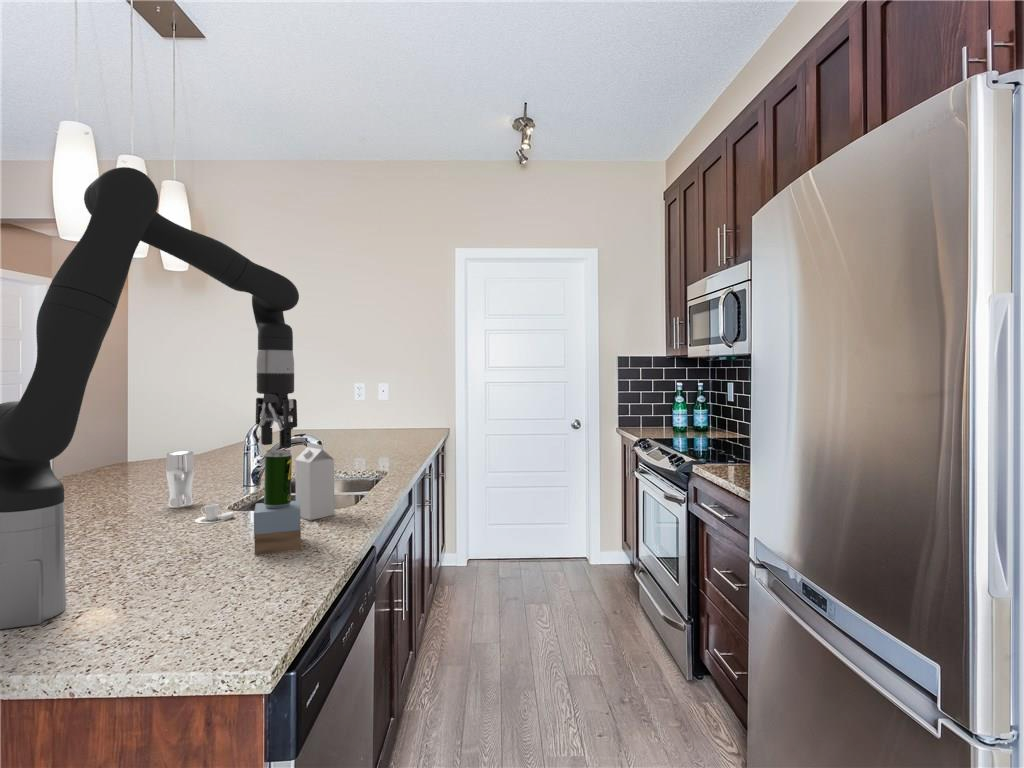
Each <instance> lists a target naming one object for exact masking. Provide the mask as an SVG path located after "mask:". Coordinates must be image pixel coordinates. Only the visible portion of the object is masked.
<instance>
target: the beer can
mask: <svg viewBox="0 0 1024 768" xmlns="http://www.w3.org/2000/svg"><path fill="white" fill-rule="evenodd" d="M265 452H266V454H265V456H264V487H263V488H264V496H263V497H264V500H263V501H264V502H263V503H264V504H265V507H267V508H284V507H288V506H289V505H290V503H291V501H292V499H291V498H292V463H293V462H292V460H293V459H292V458H293V457H292V456H293V455H292V453H291V452H292V451H291V449H270V450H269V449H268V450H266V451H265Z"/></svg>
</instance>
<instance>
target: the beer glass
mask: <svg viewBox="0 0 1024 768" xmlns="http://www.w3.org/2000/svg"><path fill="white" fill-rule="evenodd" d="M194 455H195V454H194V451H191V450H190V451H188V450H187V451H185V450H184V451H172V452H168V453H166V459H165V460H166V461H165V475H166V480H167V485H168V490H169V499H168V504H167V507H168V508H171V509H179V508H186V507H187V508H188V507H191V506H193V505H194V503H193V496H192V487H193V482H194V476H195V456H194Z"/></svg>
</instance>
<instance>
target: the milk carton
mask: <svg viewBox="0 0 1024 768" xmlns="http://www.w3.org/2000/svg"><path fill="white" fill-rule="evenodd" d="M323 447H324V445H322V444H317V443H309V442H307V444H306V448H305V449H304V450H302V452H300V454H299V455H298V456H297V457H296V458H295V465H294V466H295V501H296V500H299V502H300V519H304V520H308V521H312V520H313V521H314V520H317V519H323V518H326V517H331V516H335V458H333V457H332V456H331V455H330V454H329V453H328V452H326V451H325V450H324V449H323Z"/></svg>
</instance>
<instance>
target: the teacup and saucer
mask: <svg viewBox="0 0 1024 768" xmlns="http://www.w3.org/2000/svg"><path fill="white" fill-rule="evenodd" d="M203 509H204V510H205V511H204V512H205V514H204V512H203ZM219 511H220V504H218V503H209V504H206V505H205V506H202V507H201V508H200V512H201V514H202V516H201V517H198V518H195V520H194V522H195V523H197V524H214V523H220V522H225V521H227V520H229V519H232V518H234V517H235V512H234V511H228V512H224V513H221V514H219ZM204 519H206V520H207V521H208V522H207V521H206V522H205V521H202V520H204Z"/></svg>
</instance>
